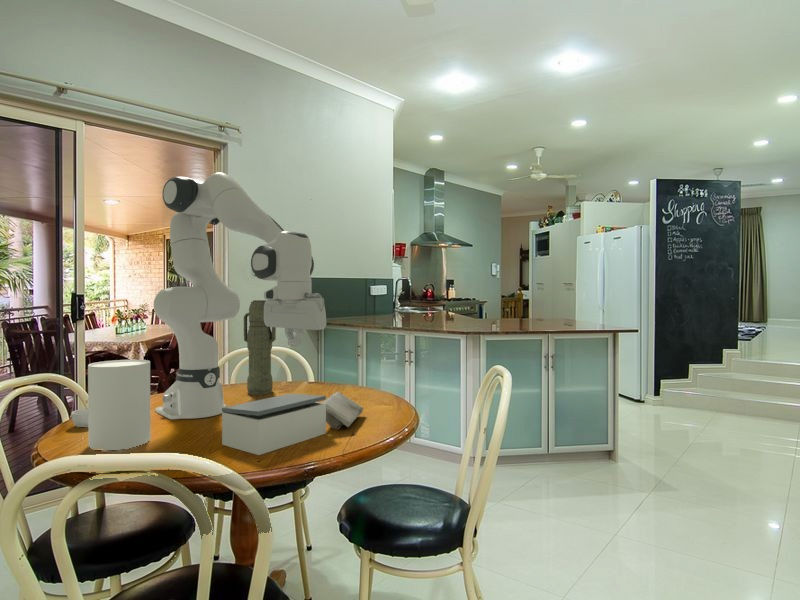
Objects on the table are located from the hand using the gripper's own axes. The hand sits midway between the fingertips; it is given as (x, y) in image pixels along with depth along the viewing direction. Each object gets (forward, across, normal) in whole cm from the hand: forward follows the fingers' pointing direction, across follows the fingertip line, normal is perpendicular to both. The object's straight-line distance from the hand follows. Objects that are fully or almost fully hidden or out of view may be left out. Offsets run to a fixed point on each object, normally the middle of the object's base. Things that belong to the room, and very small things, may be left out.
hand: (294, 345), depth 132 cm
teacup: (+25, +54, +27) cm, 65 cm away
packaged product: (+23, -6, -17) cm, 29 cm away
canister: (+24, +30, +30) cm, 49 cm away
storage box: (+24, +1, +5) cm, 24 cm away
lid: (+16, +8, +5) cm, 18 cm away
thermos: (+24, +48, -29) cm, 61 cm away
